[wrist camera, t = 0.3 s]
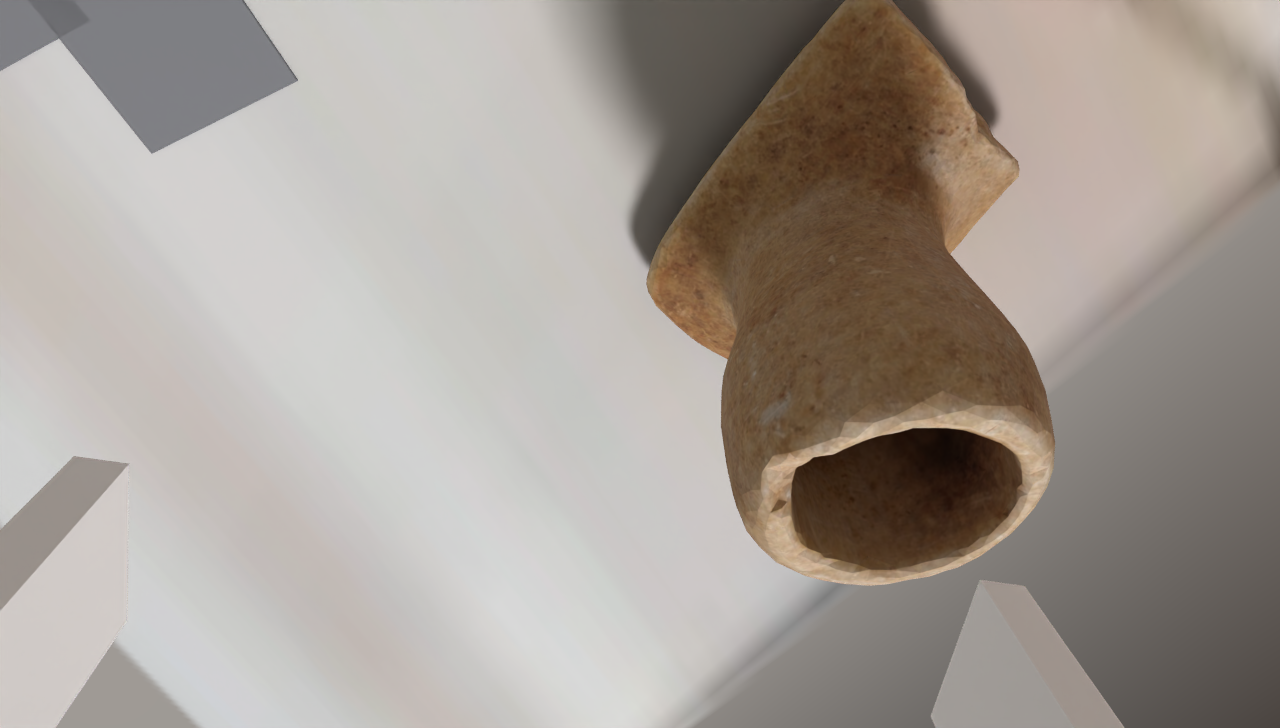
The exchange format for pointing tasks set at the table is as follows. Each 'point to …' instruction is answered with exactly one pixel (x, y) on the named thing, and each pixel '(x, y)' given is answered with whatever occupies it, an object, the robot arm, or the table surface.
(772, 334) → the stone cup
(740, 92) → the table surface
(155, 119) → the pad
